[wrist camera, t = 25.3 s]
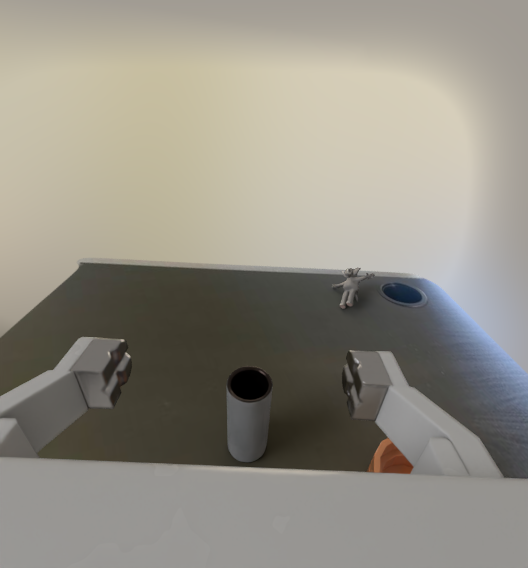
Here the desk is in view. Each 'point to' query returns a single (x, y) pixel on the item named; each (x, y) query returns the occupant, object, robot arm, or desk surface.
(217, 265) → the desk surface
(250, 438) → the tall grey cup
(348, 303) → the grey figurine
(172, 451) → the desk surface
